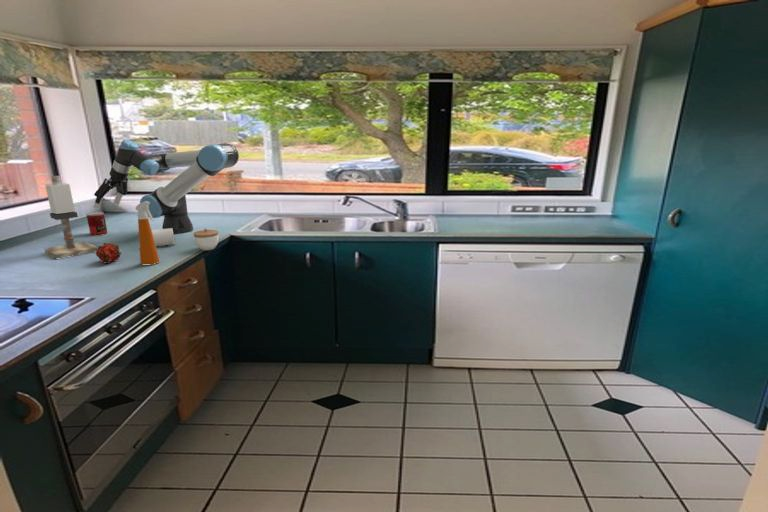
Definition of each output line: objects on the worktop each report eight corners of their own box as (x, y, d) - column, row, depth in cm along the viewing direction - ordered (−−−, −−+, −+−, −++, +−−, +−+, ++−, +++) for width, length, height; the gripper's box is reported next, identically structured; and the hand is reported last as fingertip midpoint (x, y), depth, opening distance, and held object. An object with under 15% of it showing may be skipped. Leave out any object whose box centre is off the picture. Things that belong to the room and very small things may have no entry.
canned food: (99, 236, 230) (95, 215, 227) (86, 235, 232) (82, 214, 229) (111, 232, 238) (107, 212, 234) (98, 231, 239) (94, 211, 236)
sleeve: (69, 209, 202) (64, 182, 198) (75, 211, 197) (69, 184, 194) (51, 212, 196) (45, 184, 193) (56, 213, 192) (50, 185, 189)
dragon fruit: (115, 260, 195) (111, 272, 185) (94, 251, 191) (89, 263, 181) (125, 244, 194) (121, 256, 184) (105, 235, 189) (99, 246, 179)
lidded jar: (196, 253, 200) (194, 232, 197) (194, 247, 209) (191, 227, 206) (221, 249, 205) (219, 229, 202) (218, 244, 214) (216, 225, 211)
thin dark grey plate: (71, 214, 203) (70, 210, 202) (77, 217, 198) (76, 212, 198) (50, 217, 197) (49, 213, 197) (56, 220, 192) (55, 215, 192)
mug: (175, 246, 211) (172, 230, 208) (151, 249, 207) (148, 232, 204) (174, 240, 221) (171, 224, 219) (151, 243, 217) (149, 227, 215)
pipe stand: (85, 245, 213) (70, 173, 203) (98, 251, 203) (83, 175, 193) (45, 252, 201) (27, 176, 191) (56, 259, 191) (38, 179, 182)
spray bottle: (152, 268, 179) (141, 203, 172) (137, 264, 185) (126, 200, 177) (168, 263, 185) (159, 200, 177) (153, 259, 191) (143, 198, 183)
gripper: (131, 164, 233) (117, 198, 239) (94, 167, 209) (80, 206, 215) (143, 172, 233) (129, 206, 239) (108, 176, 209) (93, 214, 216)
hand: (106, 206), depth 227 cm, fingers open, 13 cm apart
